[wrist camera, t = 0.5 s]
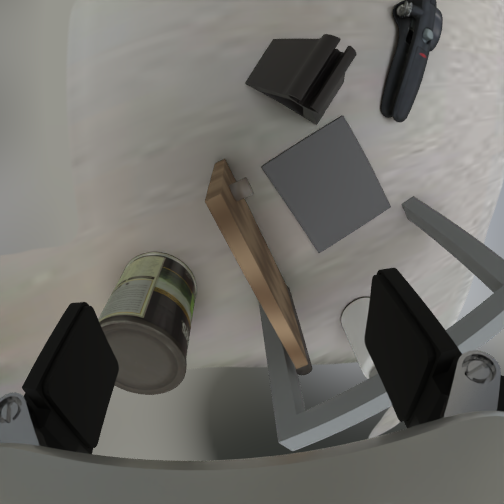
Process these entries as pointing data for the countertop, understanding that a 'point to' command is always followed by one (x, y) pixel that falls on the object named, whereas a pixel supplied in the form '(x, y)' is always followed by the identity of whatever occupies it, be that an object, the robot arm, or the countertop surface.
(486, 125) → the countertop surface
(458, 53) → the countertop surface
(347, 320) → the can
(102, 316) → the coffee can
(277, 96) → the phone stand
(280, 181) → the rubber mat
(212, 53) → the countertop surface
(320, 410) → the door frame
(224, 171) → the gate door
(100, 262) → the countertop surface
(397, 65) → the can opener
